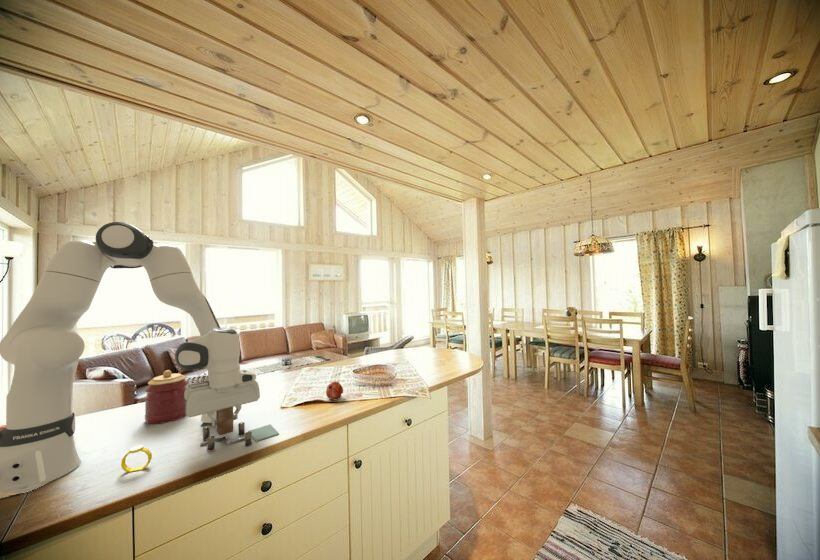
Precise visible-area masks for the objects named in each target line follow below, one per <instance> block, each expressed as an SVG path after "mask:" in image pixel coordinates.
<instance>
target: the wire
mask: <svg viewBox="0 0 820 560" xmlns="http://www.w3.org/2000/svg"><path fill="white" fill-rule="evenodd" d="M222 440H224V441H225V443H226V444H227V445H231V444H234V443H237V442H241V441H245V436H242V437H239V438H236V439H232V440H230V439H229V438H228V436H227V435H222V436H221V437H220V436H219V437H217V438H215V442H218V441H222ZM199 445H200V447H201V446H205V445H206V446H207V440H205V441H204V442H203V441H202V442H200V444H199Z"/></svg>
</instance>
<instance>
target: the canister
mask: <svg viewBox="0 0 820 560" xmlns="http://www.w3.org/2000/svg"><path fill="white" fill-rule="evenodd" d="M186 378H187V376H186V375H184V374H181V373H172V371H171V370H170V369H167V370H164V371H163V373H162V375H161V374H160V375H158V376H155V377H153V378H152V379H151V380H149V381H148V382H147V384H148V386H147V387H146V388H145V389H144V392H146V397H145V398H144V403H145V406H144V407H145V409H144V411H145V415H144V420H145V423H147V424H149V425H158V424H164V423H165V422H166V423H169V421H170V422H173V421H176V420H179V419H181V418H183V417H185V416H187V415H186V402H187V400H186V399H185V398H184V392H185V390H186V389H187V388H188V385H189V383H190V382H189V381H188V380H186Z"/></svg>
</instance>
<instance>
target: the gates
mask: <svg viewBox="0 0 820 560" xmlns="http://www.w3.org/2000/svg"><path fill="white" fill-rule="evenodd" d="M245 427H246V426H245V422H244V421H242V422H241V421H240V422H239V423H238V425H237V428H238V430H237V431H238V432H237V433H238V434H237V435H238V436H243V435H244V437H245V439H244V446H246V447H249V446H252V445H253V438H252V432H248V431H247V432H245ZM210 429H211V427H210V425H206V426H204V427H203V428H202V440H205V441H207V444H206V447H207V451H208V450H210V451H212V450H215V448H216V447H215V445H216V444H215V442H216V441H215V439H216V438H215V435H211V431H210Z"/></svg>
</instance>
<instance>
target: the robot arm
mask: <svg viewBox="0 0 820 560" xmlns="http://www.w3.org/2000/svg"><path fill="white" fill-rule="evenodd" d="M141 267H143V268H144V269H145V271H146V273H147V275H148V279H149V281H150V282H149V283H150V285H151V288H152V292H153V294H154V296H156V298H157V300H158V301H160V302H161V303H163V304H165V305H167V306H170V307H174V308H177V309H180V310H182V311H184V312H186V313H188V314H189V315H190V317H191V318H192V319H193V322H194V324H195V327H196V328H197V330H198V332H199V334H200V336H199V337H196V338H193V339H190V340H187V341H185V342H182V343H181V344H180V345H179V346H178V347H177V348H176V350H175V354H174V361H175V363H176V365H177V366H178V367H179V368H180V369H181V370H183V371H186V372H192V371H197V370H200V369H207V381H205V382H200V383H197V384H196V383H195V384H191V385H190V386H187V389H186V390H185V392H184V398H185V399H186V400H187V402H186V415H185V416H187V417H188V418H193V417H197V416H202V414H206V413H208V416H209V417H210V419H211V420H212V423H211V425H212V426H213V427H214V426H216V425H218V419H217V418H214V417H213V416H212V415H214V411H218V410H221V409H225V408H229V407H233V408H234V407H235V410H234V411H233V421H235V420H238V419H239V418H238V416H239V413H240V412H241V410H242V405H246V404H250V403H254V402H257V401H259V399H260V396H261V394H260V387H259V383H258V382H257V380H256V379H257V375H256V374H255V372H254V371H251V370H245V369H241V364H240V354H241V348H240V346H241V345H240V337H239V334H238V332H237V331H236V330H235V329H233V328H230V327H221V326H220V324H219V322H218V319H217V318H216V315H215V313H214V311H213V309H212V306H211V305H210V303H209V301H208V299H207V298H206V296H205V295H204V294H203V292H202V291H201V290H200V288H199V286H198V284H197V282H196V279H195V277H194V275H193V273H192V270H191V267H190V264H189V262H188V260H187V258H186V256H185V255H184V253H183V251H182V250H181V249H180V248H179V247H178V246H176V245H172V244H154V240H153V239H152V238H151V237H149V236H148V235H147V234H146V233H144V232H143V231H142V230H141V229H139V228H138V227H137V226H134V225H133V224H129V223H128V222H124V221H123V222H121V221H113V222H108V223H106V224H103V226H102V225H101V227H100V228H98V230H97V232H96V233H95V241H89V240H82V239H81V240H79V239H77V240H76V239H74V240H68V241H65V242H64V243H63V244H62V245H61V246H60V247H59V249H58V250H56V252H55V253H54V255H53V256H52V257H51V259H50V260H49V262H48V264H47V266H46V267H45V269H44V271H43V274H42V276H41V278H40V279H39V282H38V283H37V285H36V288H35V289H34V292H33V294H32V296H31V297H30V299H29V301H28V302H27V304H26V305H25V307H24V308H23V309H22V310H21V312H20V313H19V314H18V316H17V317H16V319H15V321H14V322H13V323H12V325H11V326H10V328H9V329H8V331H7V332H6V334H5V335H4V337H2V339H1V340H0V356H1V358H2V359H3V360H4V361H6V363H9V364H12V365H14V369H13V370H14V371H13V376H12V380H11V385H10V388H9V391H8V393H7V394H6V403H5V404H6V407H5V411H6V412H5V415H6V416H5V418H6V419H5V424H3V425H0V491H2V492H3V493H4V494H7V493H22V492H27V491H31V490H34V489H36V488H38V489H40V488H41V486H42V487H43V486H46V484H48V483H50V482H53V481H54V480H57V479H59V478H61V477H63V476H65V475H67V474H69V473H70V472H72V471H74V470H75V469H77V468H78V467H79V466H80V464H81V461H82V460H81V459H80V457H79V454H78V451H77V448H76V444H75V443H76V442H75V439H74V434H75V431H76V417H75V416H76V415H75V412H73V389H74V381H75V377H76V373H77V369H78V365H79V361H80V359H81V356H82V355H83V353H84V351H85V347H86V345H85V341H84V339H83V338H82V336H81V335H79V334H78V332H76V331H74V330H73V328H74V327H75V326H76V324H77V323H78V321H80V319H81V317H83V315H84V314H85V313H86V312H87V311H88V310H89V309H90V307H91V305H92V302H93V300H94V298H95V295H96V293H97V291H98V288H99V286H100V283H101V281H102V279H103V276H104V274H105V273H106V271H107V269H109V268H111V269H138V268H141ZM39 487H40V488H39ZM36 490H37V489H36ZM34 491H35V490H34ZM31 492H32V491H31Z"/></svg>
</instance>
